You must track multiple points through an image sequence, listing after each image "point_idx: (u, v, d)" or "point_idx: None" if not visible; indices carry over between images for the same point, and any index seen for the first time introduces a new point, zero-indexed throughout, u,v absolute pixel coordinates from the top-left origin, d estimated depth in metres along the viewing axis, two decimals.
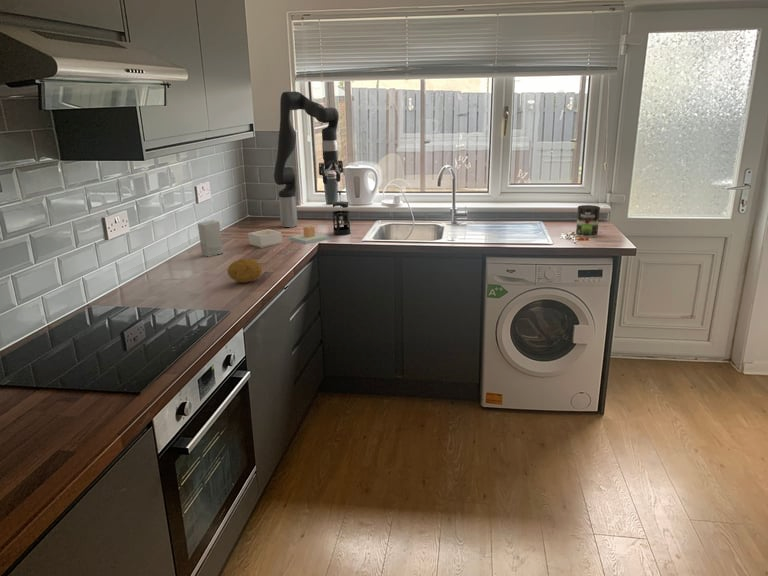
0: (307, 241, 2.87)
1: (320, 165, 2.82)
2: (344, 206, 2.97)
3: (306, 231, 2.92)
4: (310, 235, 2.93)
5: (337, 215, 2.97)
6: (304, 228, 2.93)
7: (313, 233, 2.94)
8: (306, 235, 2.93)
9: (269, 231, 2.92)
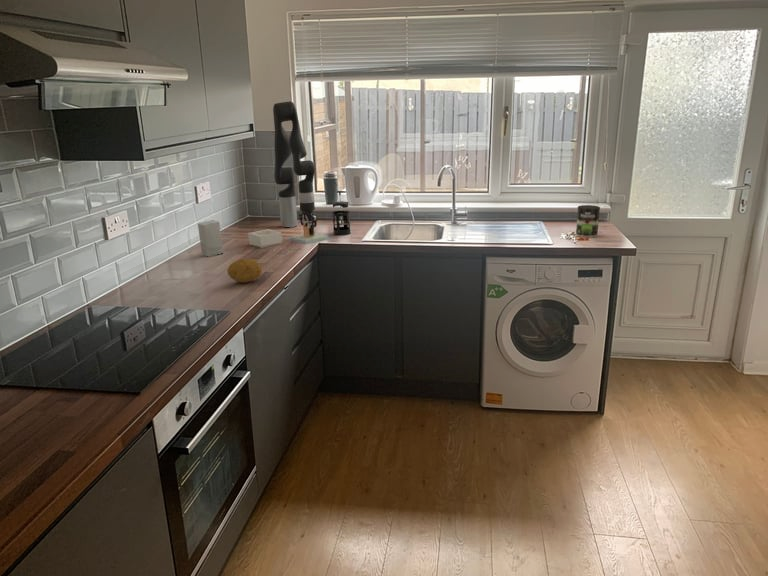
0: (307, 241, 2.87)
1: (315, 219, 2.88)
2: (344, 206, 2.97)
3: (306, 231, 2.92)
4: (310, 235, 2.93)
5: (337, 215, 2.97)
6: (304, 228, 2.93)
7: None
8: (306, 235, 2.93)
9: (269, 231, 2.92)
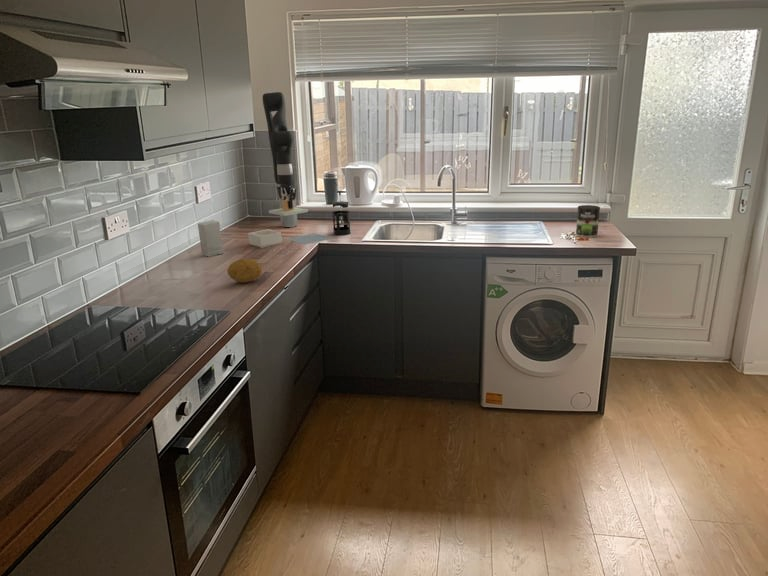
0: (286, 214, 2.79)
1: (294, 191, 2.80)
2: (344, 206, 2.97)
3: (285, 204, 2.85)
4: None
5: (337, 215, 2.97)
6: (283, 201, 2.85)
7: None
8: (285, 208, 2.86)
9: (269, 231, 2.92)
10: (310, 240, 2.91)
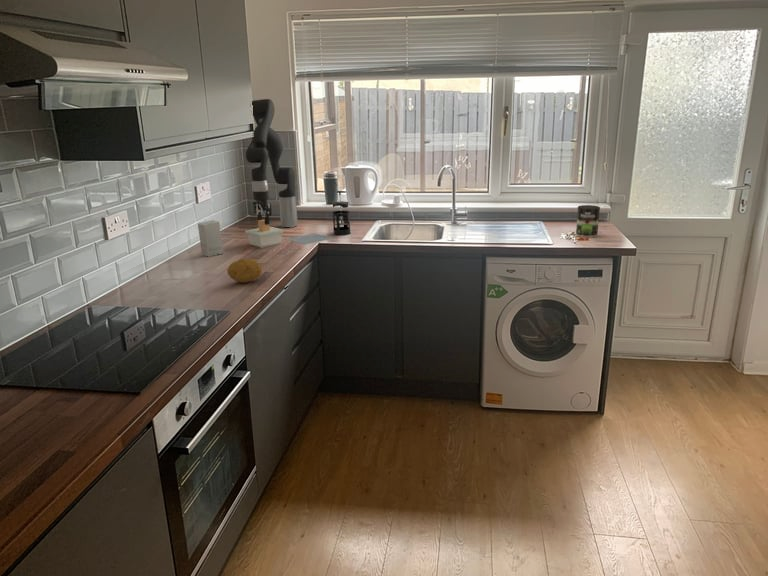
0: (261, 235, 2.78)
1: (269, 206, 2.78)
2: (344, 206, 2.97)
3: (261, 225, 2.84)
4: (265, 229, 2.84)
5: (337, 215, 2.97)
6: (259, 222, 2.84)
7: (268, 227, 2.85)
8: (261, 229, 2.84)
9: None
10: (310, 240, 2.91)
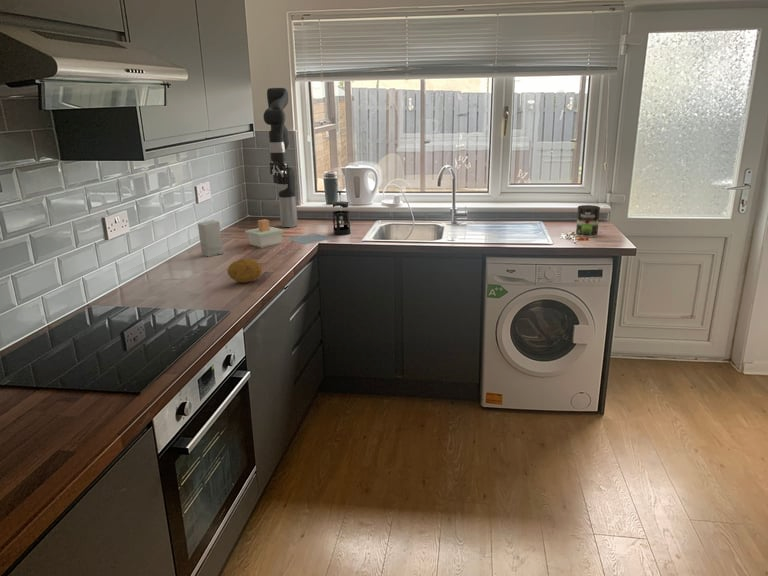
0: (261, 235, 2.78)
1: (286, 166, 2.86)
2: (344, 206, 2.97)
3: (261, 225, 2.84)
4: (265, 229, 2.84)
5: (337, 215, 2.97)
6: (259, 222, 2.84)
7: (268, 227, 2.85)
8: (261, 229, 2.84)
9: None
10: (310, 240, 2.91)
